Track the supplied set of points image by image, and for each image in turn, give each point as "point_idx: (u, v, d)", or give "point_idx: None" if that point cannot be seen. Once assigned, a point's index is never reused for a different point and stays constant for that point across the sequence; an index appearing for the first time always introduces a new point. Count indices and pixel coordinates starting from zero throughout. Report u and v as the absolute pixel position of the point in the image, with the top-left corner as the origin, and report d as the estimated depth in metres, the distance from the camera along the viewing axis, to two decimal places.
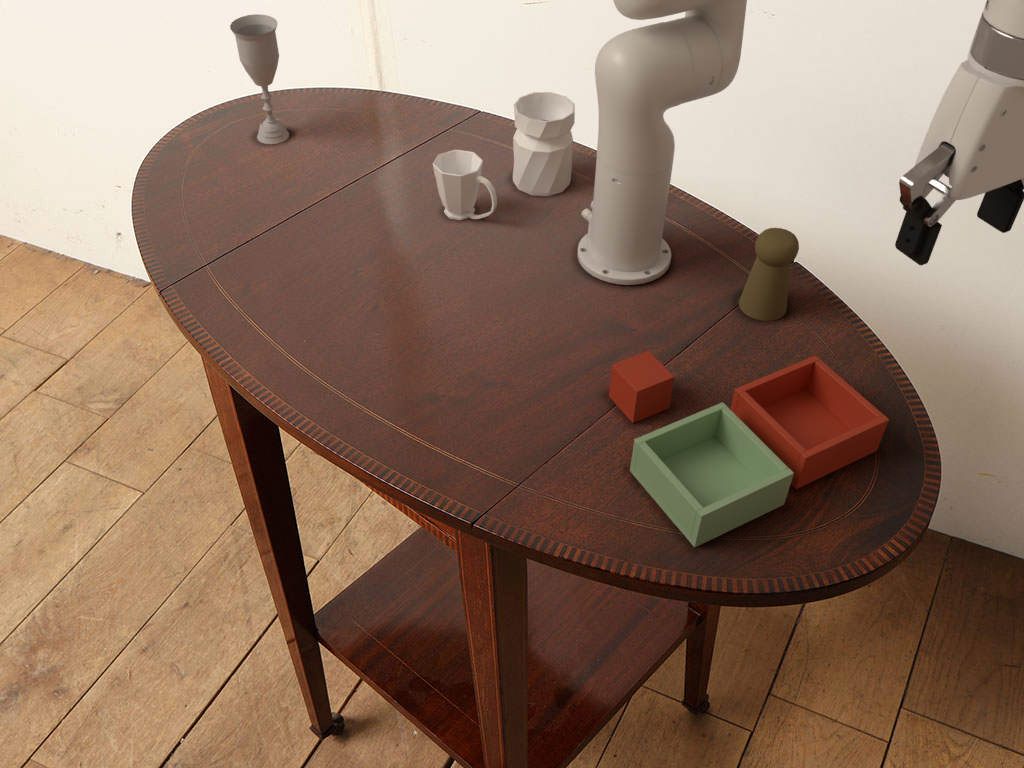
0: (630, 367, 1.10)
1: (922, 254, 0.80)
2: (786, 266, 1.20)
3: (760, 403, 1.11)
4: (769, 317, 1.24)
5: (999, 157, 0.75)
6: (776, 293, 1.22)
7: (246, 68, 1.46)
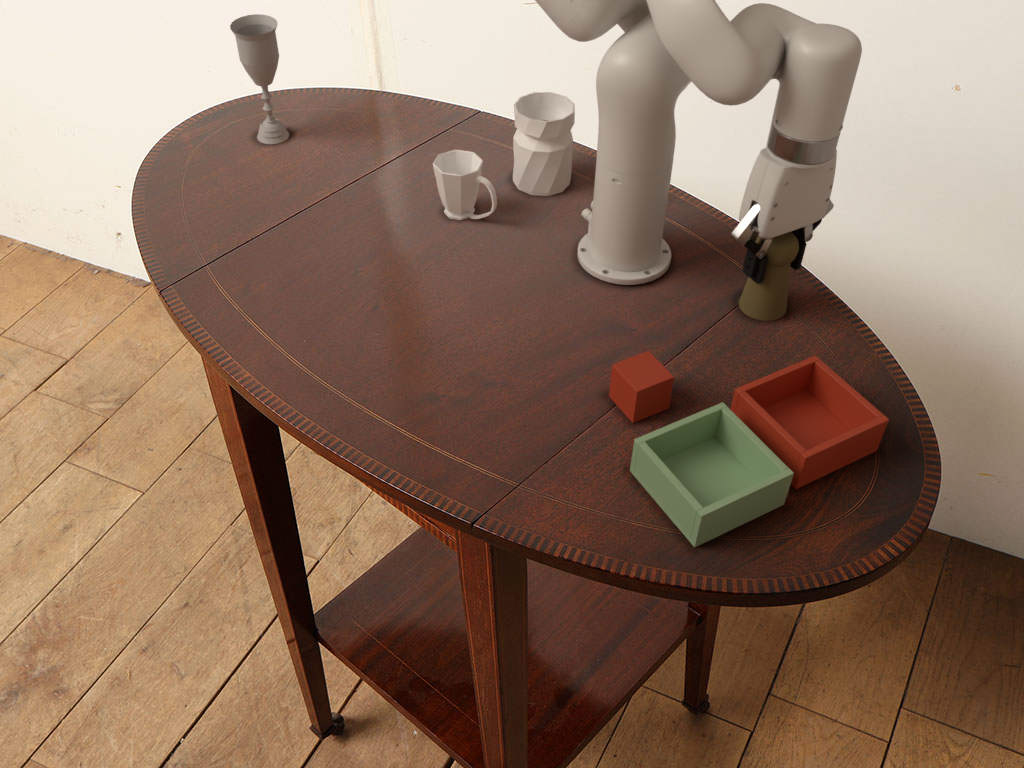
0: (630, 367, 1.10)
1: (758, 276, 1.20)
2: (786, 266, 1.20)
3: (760, 403, 1.11)
4: (769, 317, 1.24)
5: (789, 211, 1.13)
6: (776, 293, 1.22)
7: (246, 68, 1.46)
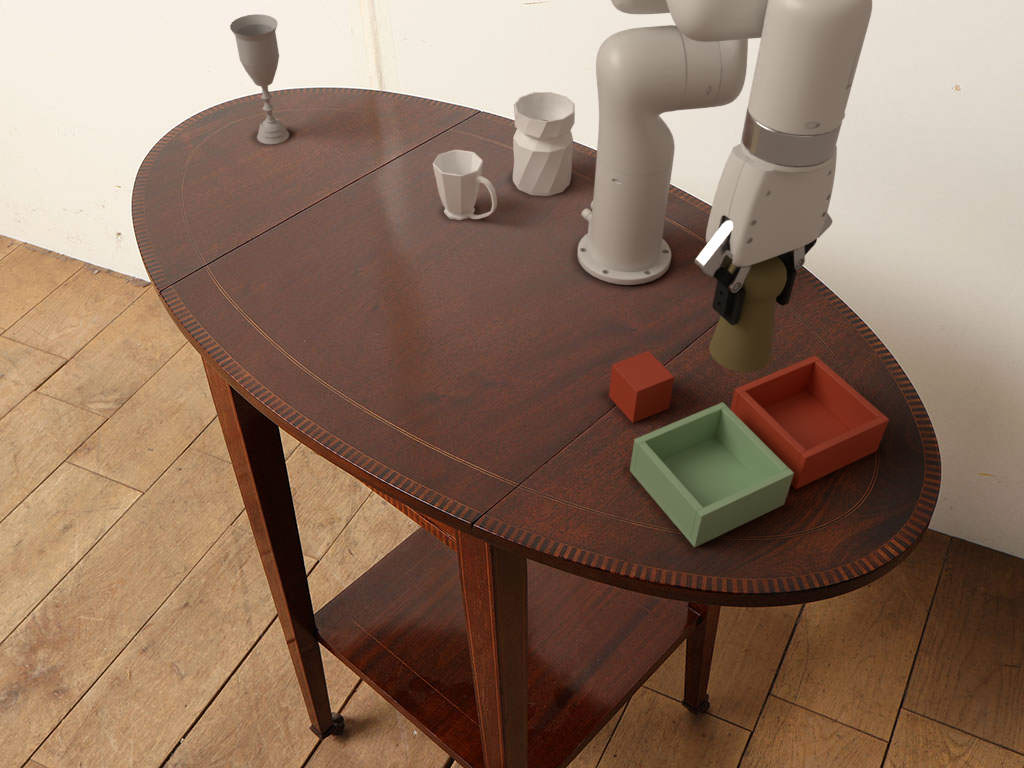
0: (630, 367, 1.10)
1: (732, 315, 0.90)
2: (770, 302, 0.90)
3: (760, 403, 1.11)
4: (748, 367, 0.94)
5: (773, 229, 0.83)
6: (757, 336, 0.92)
7: (246, 68, 1.46)
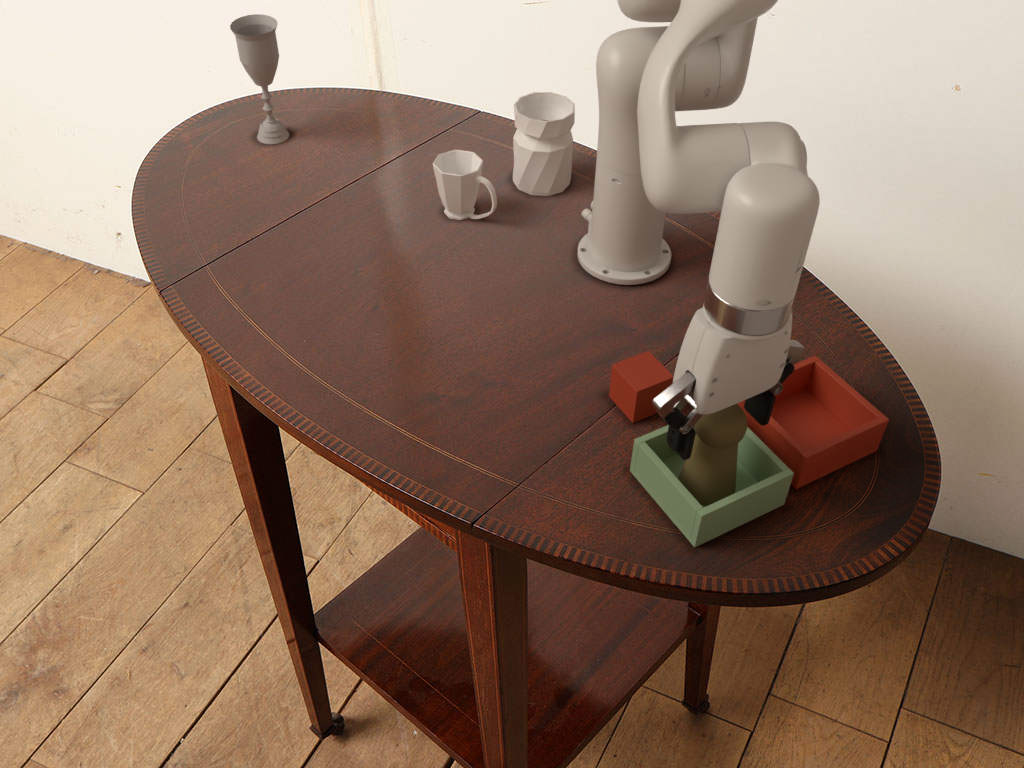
0: (630, 367, 1.10)
1: (684, 452, 0.95)
2: (732, 447, 0.98)
3: None
4: (713, 502, 1.01)
5: (733, 384, 0.90)
6: (720, 476, 0.99)
7: (246, 68, 1.46)
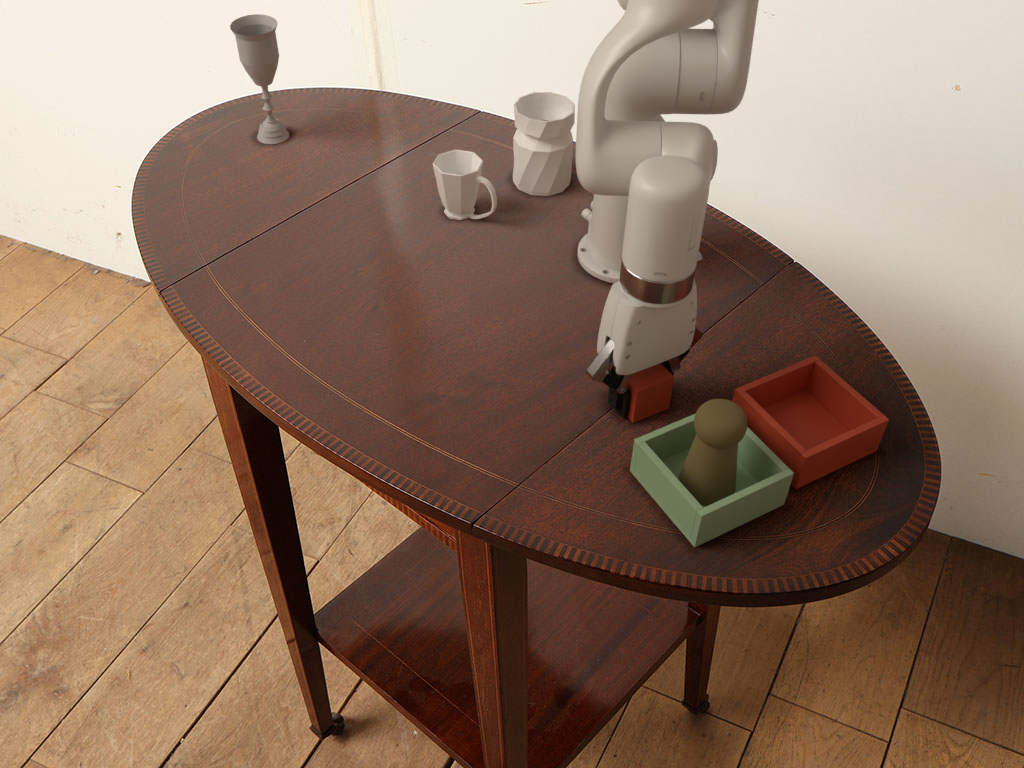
0: None
1: (622, 410, 1.11)
2: (732, 447, 0.98)
3: (760, 403, 1.11)
4: (713, 502, 1.01)
5: (647, 348, 1.04)
6: (720, 476, 0.99)
7: (246, 68, 1.46)
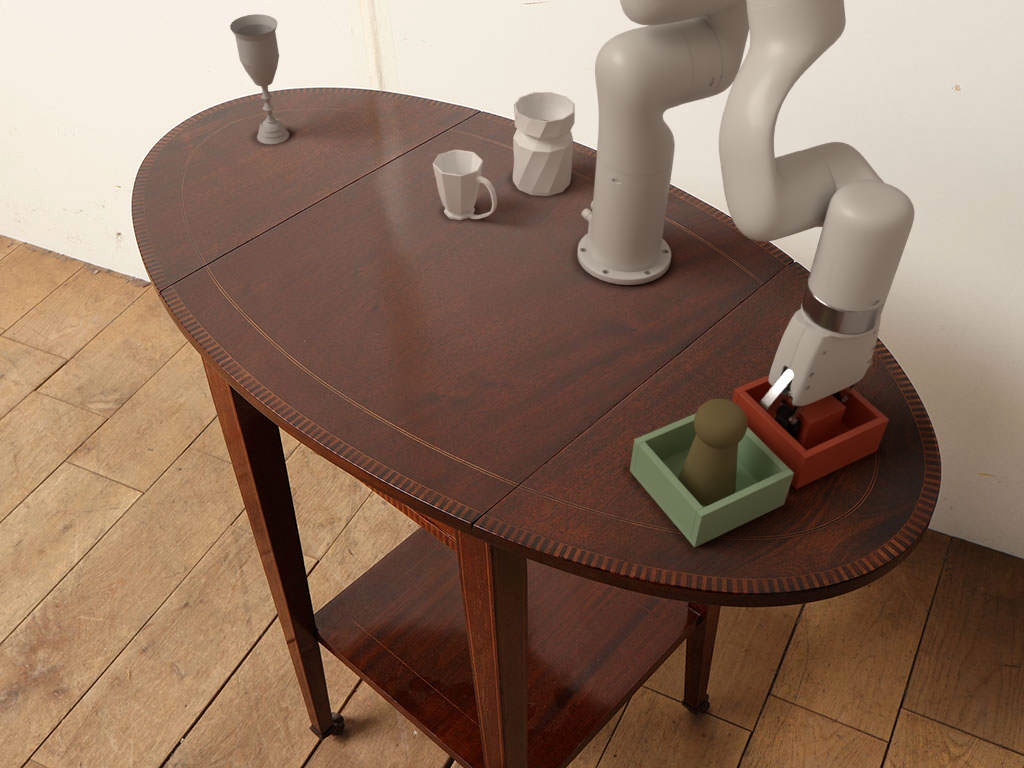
0: None
1: None
2: (732, 447, 0.98)
3: None
4: (713, 502, 1.01)
5: (827, 378, 1.00)
6: (720, 476, 0.99)
7: (246, 68, 1.46)
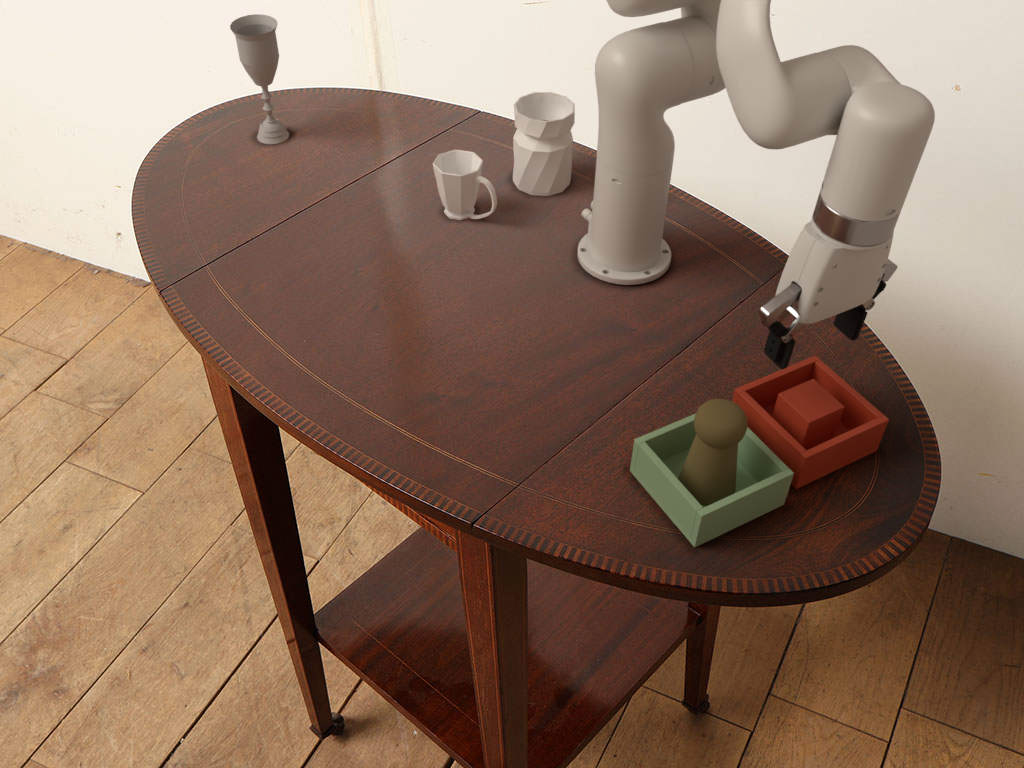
0: (797, 396, 1.07)
1: (782, 361, 1.02)
2: (732, 447, 0.98)
3: (760, 403, 1.11)
4: (713, 502, 1.01)
5: (836, 294, 0.96)
6: (720, 476, 0.99)
7: (246, 68, 1.46)
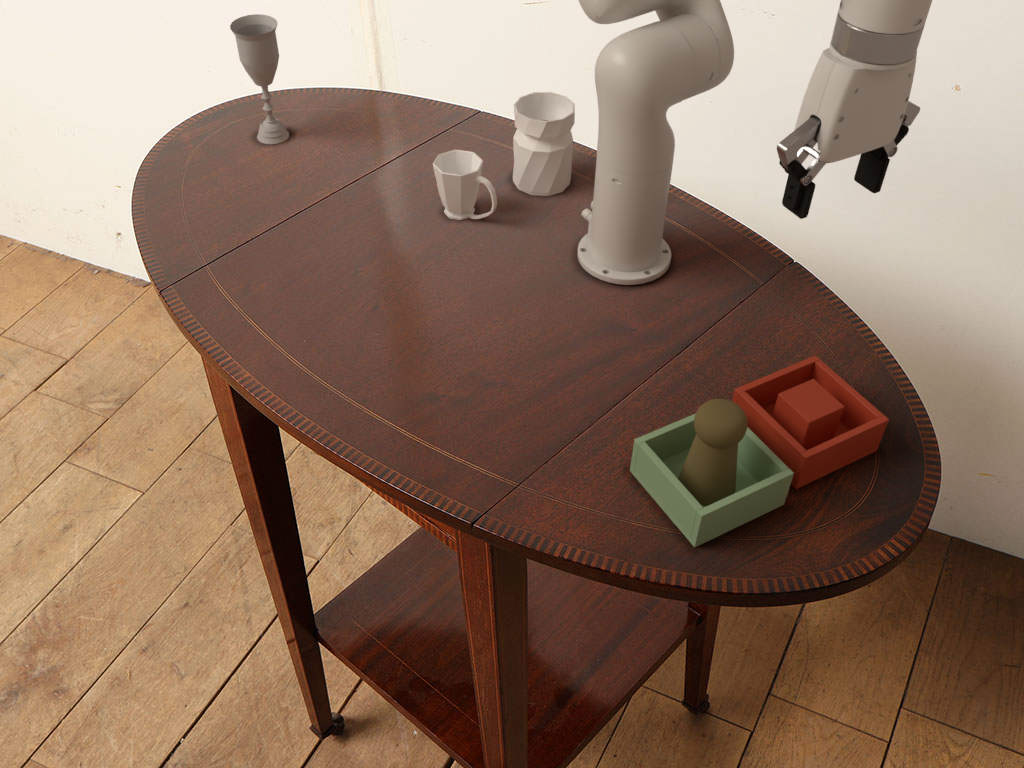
0: (797, 396, 1.07)
1: (802, 209, 0.97)
2: (732, 447, 0.98)
3: (760, 403, 1.11)
4: (713, 502, 1.01)
5: (857, 127, 0.92)
6: (720, 476, 0.99)
7: (246, 68, 1.46)
